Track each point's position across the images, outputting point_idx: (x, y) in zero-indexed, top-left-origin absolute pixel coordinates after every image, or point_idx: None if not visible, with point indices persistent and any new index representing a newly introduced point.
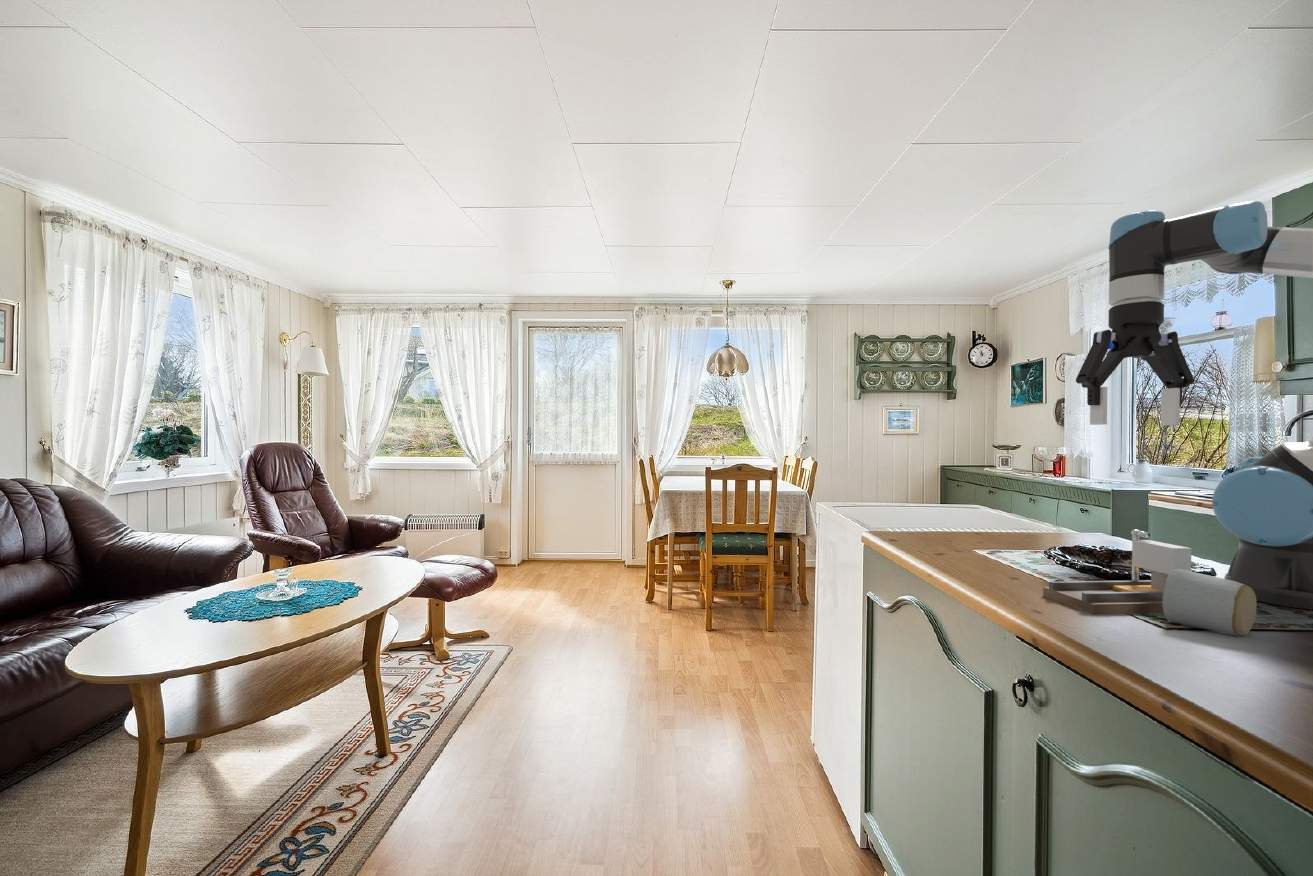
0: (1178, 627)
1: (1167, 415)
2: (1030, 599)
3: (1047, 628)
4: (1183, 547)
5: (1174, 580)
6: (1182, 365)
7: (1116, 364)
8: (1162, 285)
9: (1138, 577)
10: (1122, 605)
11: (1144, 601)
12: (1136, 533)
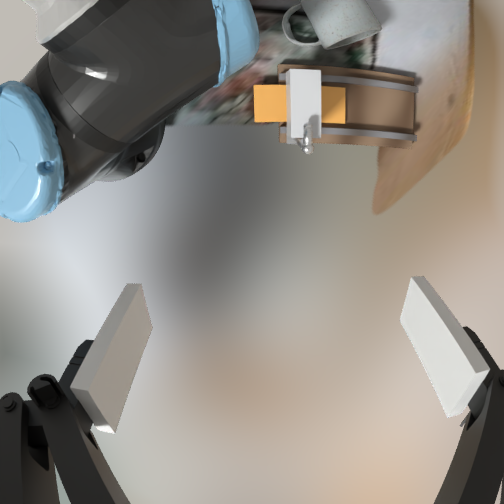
0: None
1: (137, 331)
2: (428, 137)
3: (471, 60)
4: (297, 74)
5: (377, 21)
6: (15, 479)
7: (476, 484)
8: None
9: None
10: (382, 72)
11: (349, 74)
12: (312, 142)
